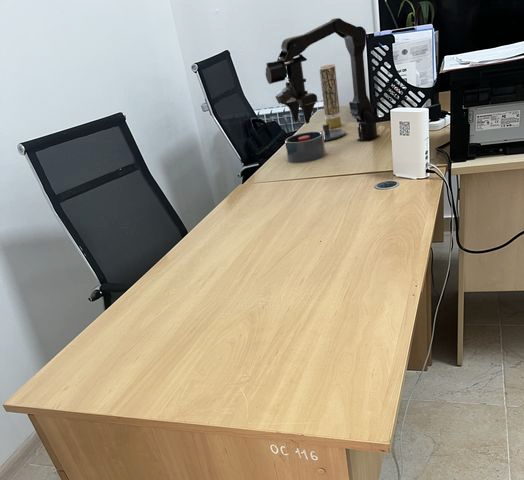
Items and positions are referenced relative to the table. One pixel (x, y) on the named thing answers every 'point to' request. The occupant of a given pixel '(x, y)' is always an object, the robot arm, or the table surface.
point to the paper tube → (330, 95)
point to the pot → (305, 147)
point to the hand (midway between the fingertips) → (301, 122)
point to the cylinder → (304, 138)
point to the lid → (331, 133)
